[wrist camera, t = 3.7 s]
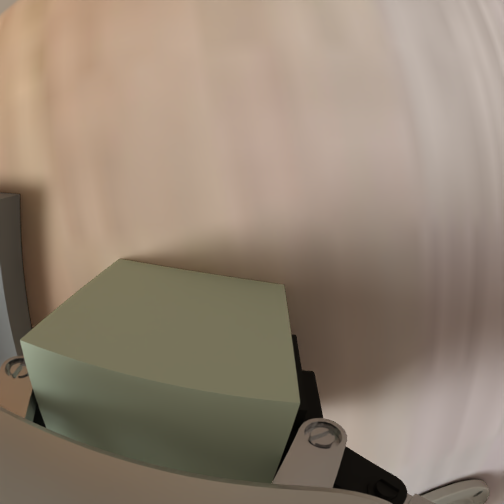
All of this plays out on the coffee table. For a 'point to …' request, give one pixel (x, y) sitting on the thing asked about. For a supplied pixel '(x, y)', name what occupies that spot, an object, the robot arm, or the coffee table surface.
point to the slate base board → (11, 280)
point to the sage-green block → (170, 369)
